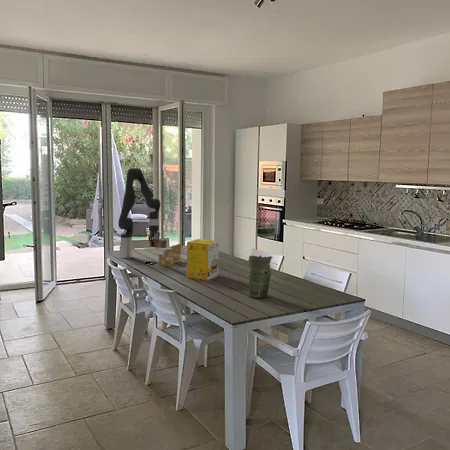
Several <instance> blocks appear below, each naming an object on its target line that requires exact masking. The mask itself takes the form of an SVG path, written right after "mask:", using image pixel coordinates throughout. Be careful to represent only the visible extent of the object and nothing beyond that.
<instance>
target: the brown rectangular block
mask: <svg viewBox="0 0 450 450" xmlns="http://www.w3.org/2000/svg"><path fill="white" fill-rule="evenodd" d="M155 239H156V238H155ZM155 239H154V247H153V248H157V249H167V239H165V240H164V239H159V240H155ZM152 240H153V239H152ZM149 248H152V247H151V242H150V241H149Z"/></svg>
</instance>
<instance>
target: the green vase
mask: <svg viewBox="0 0 450 450" xmlns="http://www.w3.org/2000/svg"><path fill="white" fill-rule="evenodd" d="M272 259H273V256H271V255H270V256H262V255H259V256H257V255H250V256H248V265H249V266H248V267H249V275H248V281H249V282H248V286H249V287H248V289H249V297H251V298H255V299H261V298H268V292H269V288H270V287H269V286H270V282H271V277H272V270H271V269H270V267H271V265H270V263H271V261H272Z"/></svg>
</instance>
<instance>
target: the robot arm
mask: <svg viewBox="0 0 450 450" xmlns="http://www.w3.org/2000/svg"><path fill="white" fill-rule="evenodd" d="M125 179H126V181H125V188H124V189H125V190H124V195H123V201H122V206H121V212H120V216H119V219H118V222H117V224H118V228H119V229H120V230H123V231H122V232H121V233H120V245H119V258H121V259H131V258H133V232H134V222H133V219H132V218H131V217H129V213H130V211H132V209H133V207H134V205H135V203H136V197H137V196H136V191H135V190H134V182H135V181H138V183H139V184H140V192H141V194H142V196H143V197H144V199H145V202H146V206H147V207H148V208H149V209H152V210H151V211H150V212H149V213H148V214H149V215H148V216H149V219H148V231H149V232H150V233H149V234H147V237H148V241H149V243H150V242H151V247H150V248H155V247H154V239H155V240H160V235H161V232H159V229H160V222H159V212H160V209H161V200H160V199H158V198H154V193H153V191H152V190H151V188H150V187H149V185H148V183H147V181H146V178H145V176H144V173H143V171H142V170H141V169H140V168H135V167H130V168H128V170H127V172H126V178H125ZM134 180H135V181H134ZM152 239H153V240H152Z"/></svg>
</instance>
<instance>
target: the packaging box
mask: <svg viewBox="0 0 450 450" xmlns="http://www.w3.org/2000/svg"><path fill="white" fill-rule="evenodd" d="M219 243H220V241H219V240H213V239H201V238H196V239H193V240H190V241H187V242H186V278H187V279H193V278H195V279H194V280H200V279H201V281H209V279H210V280H212V279H214V278H216V277H218V276H219V251H220V250H219V249H220V246H219V245H220V244H219Z"/></svg>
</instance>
